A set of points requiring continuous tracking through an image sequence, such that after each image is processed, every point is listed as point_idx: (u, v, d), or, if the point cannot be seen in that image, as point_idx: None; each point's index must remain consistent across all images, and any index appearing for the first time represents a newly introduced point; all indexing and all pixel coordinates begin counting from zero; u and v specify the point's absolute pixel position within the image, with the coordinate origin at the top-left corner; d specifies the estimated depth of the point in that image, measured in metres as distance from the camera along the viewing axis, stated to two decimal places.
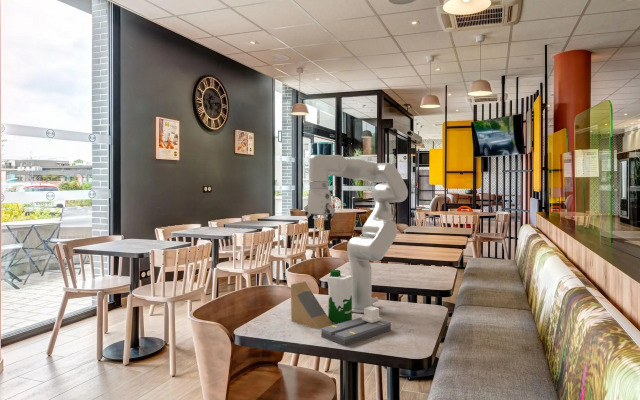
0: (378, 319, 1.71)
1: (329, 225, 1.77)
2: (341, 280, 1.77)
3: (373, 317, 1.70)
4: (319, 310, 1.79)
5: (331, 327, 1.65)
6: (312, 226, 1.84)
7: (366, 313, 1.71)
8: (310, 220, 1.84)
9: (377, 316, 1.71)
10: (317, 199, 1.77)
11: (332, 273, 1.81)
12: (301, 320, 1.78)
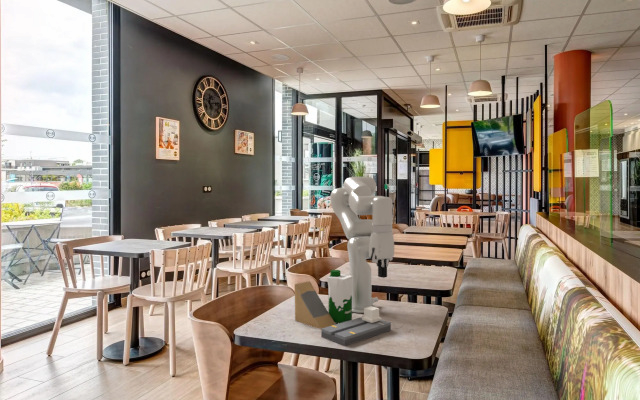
0: (378, 319, 1.71)
1: None
2: (341, 280, 1.77)
3: (373, 317, 1.70)
4: (322, 310, 1.79)
5: (331, 327, 1.65)
6: None
7: (366, 313, 1.71)
8: None
9: (377, 316, 1.71)
10: (390, 242, 1.74)
11: (332, 273, 1.81)
12: (304, 320, 1.78)
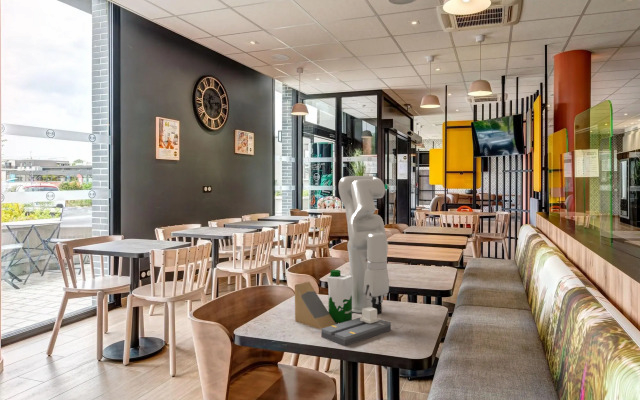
0: (376, 320, 1.70)
1: None
2: (341, 280, 1.77)
3: (371, 318, 1.69)
4: (323, 311, 1.78)
5: (331, 327, 1.65)
6: None
7: (364, 314, 1.70)
8: None
9: (375, 317, 1.70)
10: (385, 279, 1.73)
11: (332, 273, 1.81)
12: (305, 320, 1.77)
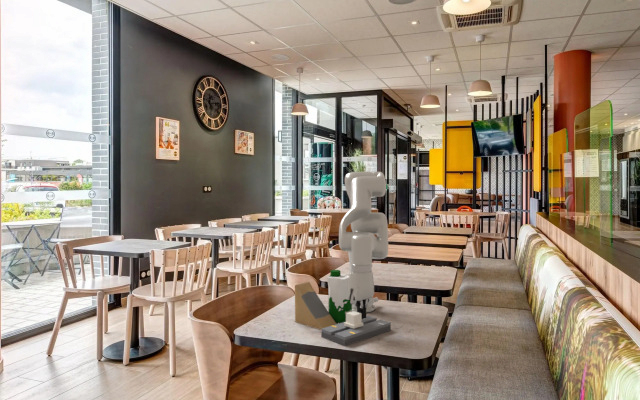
0: (360, 324, 1.64)
1: None
2: (341, 280, 1.77)
3: (355, 322, 1.63)
4: (323, 311, 1.78)
5: (331, 327, 1.65)
6: None
7: (348, 318, 1.65)
8: None
9: (359, 321, 1.65)
10: (369, 282, 1.67)
11: (332, 273, 1.81)
12: (305, 321, 1.77)
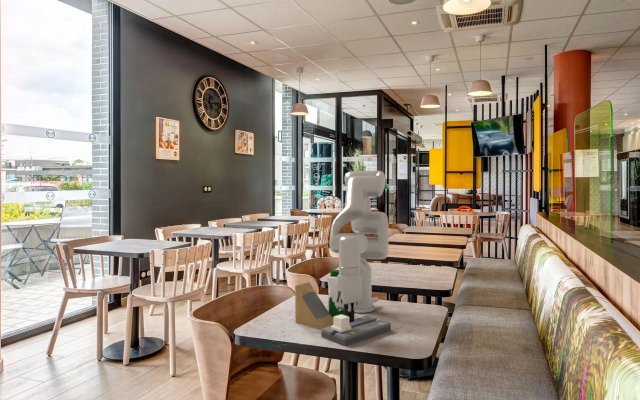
0: (348, 328, 1.60)
1: None
2: None
3: (342, 326, 1.59)
4: (324, 311, 1.78)
5: None
6: None
7: (335, 322, 1.61)
8: None
9: (347, 325, 1.61)
10: (358, 285, 1.63)
11: (332, 273, 1.81)
12: (306, 321, 1.76)
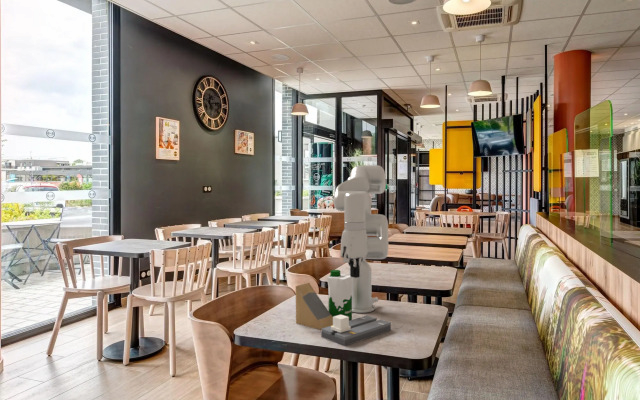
0: (347, 328, 1.60)
1: None
2: (341, 280, 1.77)
3: (342, 326, 1.59)
4: (325, 312, 1.77)
5: None
6: None
7: (335, 322, 1.60)
8: None
9: (346, 325, 1.60)
10: (363, 240, 1.64)
11: (332, 273, 1.81)
12: (307, 322, 1.75)
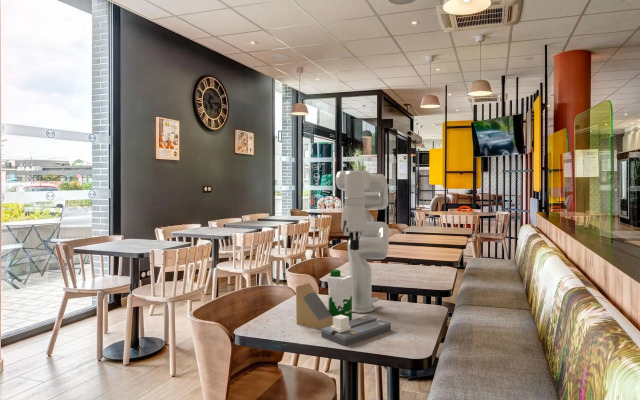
0: (347, 328, 1.60)
1: None
2: (341, 280, 1.77)
3: (342, 326, 1.59)
4: (325, 312, 1.77)
5: None
6: None
7: (335, 322, 1.60)
8: None
9: (346, 325, 1.60)
10: (362, 215, 1.76)
11: (332, 273, 1.81)
12: (307, 322, 1.75)
